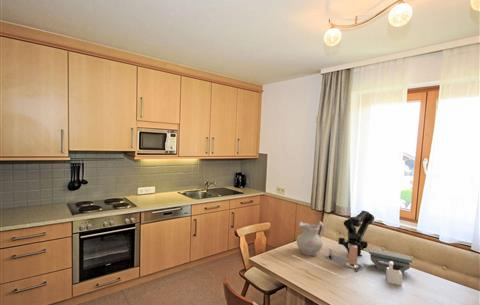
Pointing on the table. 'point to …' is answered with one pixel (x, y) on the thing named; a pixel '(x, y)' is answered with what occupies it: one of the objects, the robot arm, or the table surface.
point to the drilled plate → (344, 262)
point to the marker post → (352, 254)
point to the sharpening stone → (389, 259)
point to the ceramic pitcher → (310, 238)
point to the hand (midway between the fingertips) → (353, 254)
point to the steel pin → (330, 252)
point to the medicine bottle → (394, 273)
